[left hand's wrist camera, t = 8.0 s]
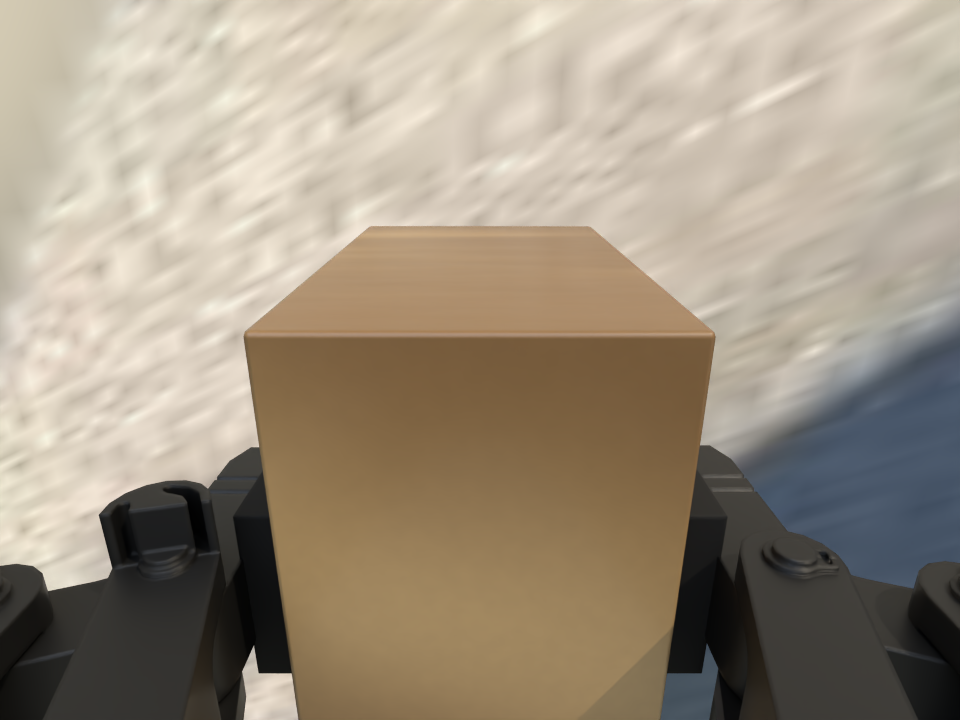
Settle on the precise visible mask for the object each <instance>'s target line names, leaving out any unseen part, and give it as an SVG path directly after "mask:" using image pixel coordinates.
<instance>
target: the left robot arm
mask: <svg viewBox="0 0 960 720" xmlns="http://www.w3.org/2000/svg"><path fill="white" fill-rule="evenodd" d="M99 518H100V522H101V525H102V529H103V533H104V537H105V541H106V545H107V549H108V553H109V557H110V561H111V565H112V571H111V573H110V575H109V577H108V578H107V579H103V580H99V581H96V582H91V583H86V584H81V585H76V586H71V587H67V588H62V589H57V590H52V591H48V590H47V587H46V584H45V580H44V577H43V574H42V573H41V572H40V571H39V570H37V569H36V568H35V567H33V566H28V565H20V564H12V565H4V566H0V720H243V719H244V710H245V702H246V693H245V686H244V680H243V674H242V670H243V668H244V666H245V664H246V662H247V659H248V657H249V655H250V653H251V650H252V648H253V646H254V648H255V654H256V660H257V666H258V672H259V673H292V671H291V664H290V657H289V650H288V643H287V636H286V629H285V622H284V615H283V608H282V601H281V594H280V587H279V580H278V573H277V566H276V559H275V552H274V545H273V538H272V531H271V524H270V517H269V510H268V503H267V496H266V489H265V482H264V475H263V468H262V462H261V455H260V448H259V447H251V448H249V449H248V450H246V451H245V452H243V453H242V454H240V455H238V456H237V457H235V458H234V459H232V460H231V461H229V463H228V464H227V465H226V466H225V468H224V469H223V470H222V472H221V473H220V474H219V475H218V477H217V480H215V481H214V482H213V483H212V485H211V486H210V487H209V488H208V489H207V488H206V487H205V486H203V485H202V484H200V483H196V482H191V481H187V480H183V481H165V482H160V483H155V484H150V485H146V486H143V487H141V488H138V489H135V490H133V491H130V492H128V493H125V494H124V495H122V496H121V497H119V498H117V499H116V500H114V501H112V502H111V503H109V504H108V505H107V506H106V508H105V509H104V510H103V511H102V512H101V513H100V514H99ZM706 644H708V646H709V648H710V651H711V653H712V655H713V657H714V660H715V662H716V664H717V666H718V674H717V680H716V685H715V691H714V696H713V702H712V708H711V713H710V719H709V720H960V563H955V562H946V561H944V562H936V563H929V564H927V565H926V566H924V567H923V568H922V569H921V570H919V572H918V576H917V579H916V582H915V586H914V589H912V588H907V587H902V586H897V585H892V584H887V583H882V582H878V581H873V580H868V579H864V578H860V577H856V576H852V575H851V574H850V572H849V570H848V568H847V566H846V565H845V564H844V562H843V561H842V560H841V558H840V557H839V556H838V555H837V554H836V553H834V552H833V551H832V550H830V549H829V548H827V547H826V546H825V545H823V544H822V543H819V542H817V541H815V540H813V539H810V538H808V537H806V536H804V535H800V534H796V533H792V532H788V531H787V530H786V529H785V527H784V526H783V525H782V524H781V522H780V521H779V520H778V519H777V517H776V516H775V515H774V513H773V512H772V511H771V510H770V508H769V507H768V506H767V504H766V503H765V502H764V501H763V499H762V498H761V497H760V495H759V494H758V493H757V492H754V488H753V486H752V485H751V484H750V483H749V481H748V480H747V479H746V478H744V475H743V474H742V472H741V471H740V470H739V468H738V467H737V466H736V465H735V463H734V462H733V461H732V460H731V459H730V458H729V457H727V456H725V455H724V454H722V453H721V452H719V451H718V450H716V449H714V448H713V447H711V446H700V448H699V455H698V461H697V468H696V475H695V482H694V489H693V496H692V503H691V510H690V517H689V524H688V531H687V538H686V544H685V551H684V558H683V565H682V572H681V579H680V586H679V593H678V600H677V607H676V614H675V620H674V627H673V634H672V641H671V648H670V655H669V662H668V669H667V673H702V668H703V662H704V656H705V650H706Z"/></svg>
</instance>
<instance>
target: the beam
mask: <svg viewBox="0 0 960 720" xmlns="http://www.w3.org/2000/svg"><path fill="white" fill-rule="evenodd" d="M244 343H245V350H246V357H247V364H248V371H249V378H250V385H251V392H252V399H253V406H254V413H255V420H256V427H257V434H258V441H259V448H260V455H261V462H262V468H263V475H264V482H265V489H266V496H267V503H268V510H269V517H270V524H271V531H272V538H273V545H274V552H275V559H276V566H277V573H278V580H279V587H280V594H281V601H282V608H283V615H284V622H285V629H286V636H287V643H288V650H289V657H290V664H291V671H292V678H293V685H294V692H295V699H296V705H297V712H298V719H299V720H660V717H661V710H662V703H663V697H664V690H665V683H666V676H667V669H668V662H669V655H670V648H671V641H672V634H673V627H674V620H675V614H676V607H677V600H678V593H679V586H680V579H681V572H682V565H683V558H684V551H685V544H686V538H687V531H688V524H689V517H690V510H691V503H692V496H693V489H694V482H695V475H696V468H697V461H698V455H699V448H700V441H701V434H702V427H703V420H704V413H705V406H706V399H707V392H708V385H709V379H710V372H711V365H712V358H713V351H714V344H715V334H714V332H713V331H712V330H711V329H710V328H709V327H707V326H706V325H705V324H704V323H703V322H701V321H700V320H699V319H698V318H697V317H696V316H694V315H693V314H692V313H691V312H690V311H689V310H687V309H686V308H685V307H684V306H683V305H681V304H680V303H679V302H678V301H677V300H676V299H674V298H673V297H672V296H671V295H670V294H669V293H667V292H666V291H665V290H664V289H663V288H662V287H660V286H659V285H658V284H657V283H656V282H654V281H653V280H652V279H651V278H650V277H649V276H647V275H646V274H645V273H644V272H643V271H642V270H640V269H639V268H638V267H637V266H636V265H634V264H633V263H632V262H631V261H630V260H629V259H627V258H626V257H625V256H624V255H623V254H622V253H620V252H619V251H618V250H617V249H616V248H615V247H613V246H612V245H611V244H610V243H609V242H607V241H606V240H605V239H604V238H603V237H602V236H600V235H599V234H598V233H597V232H596V231H595V230H593V229H592V228H591V227H547V226H371V227H369V228H368V229H366V230H365V231H364V232H363V233H362V234H360V235H359V236H358V237H357V238H356V239H355V240H353V241H352V242H351V243H350V244H349V245H347V246H346V247H345V248H344V249H343V250H341V251H340V252H339V253H338V254H337V255H336V256H334V257H333V258H332V259H331V260H330V261H328V262H327V263H326V264H325V265H324V266H322V267H321V268H320V269H319V270H318V271H317V272H315V273H314V274H313V275H312V276H311V277H309V278H308V279H307V280H306V281H305V282H303V283H302V284H301V285H300V286H299V287H298V288H296V289H295V290H294V291H293V292H292V293H290V294H289V295H288V296H287V297H286V298H284V299H283V300H282V301H281V302H280V303H279V304H277V305H276V306H275V307H274V308H273V309H271V310H270V311H269V312H268V313H267V314H265V315H264V316H263V317H262V318H261V319H260V320H258V321H257V322H256V323H255V324H254V325H252V326H251V327H250V328H249V329H248V330H247V331H245V333H244Z"/></svg>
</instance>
